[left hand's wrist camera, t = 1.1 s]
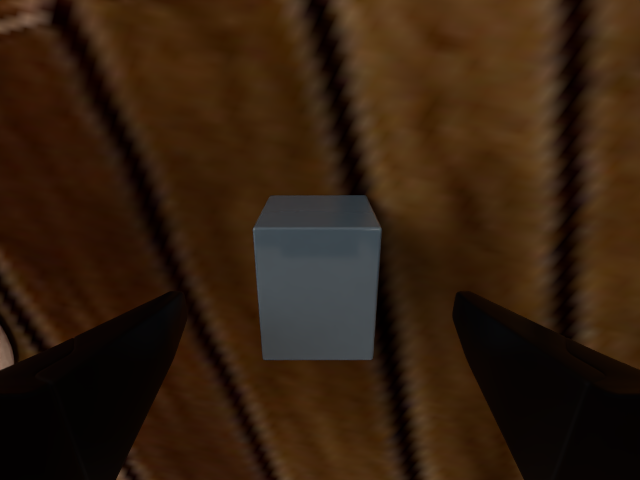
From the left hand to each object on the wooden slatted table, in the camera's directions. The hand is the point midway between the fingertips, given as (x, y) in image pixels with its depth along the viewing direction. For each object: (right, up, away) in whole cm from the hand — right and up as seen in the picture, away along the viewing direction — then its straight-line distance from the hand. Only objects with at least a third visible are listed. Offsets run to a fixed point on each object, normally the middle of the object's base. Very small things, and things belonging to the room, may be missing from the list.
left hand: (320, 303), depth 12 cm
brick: (0, +2, +4) cm, 4 cm away
